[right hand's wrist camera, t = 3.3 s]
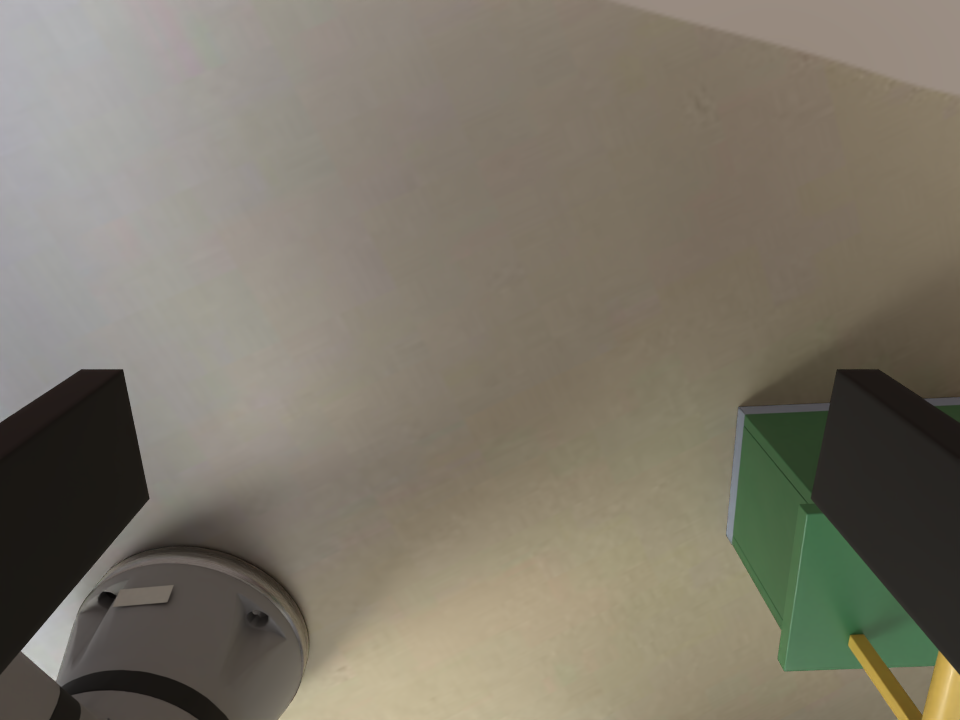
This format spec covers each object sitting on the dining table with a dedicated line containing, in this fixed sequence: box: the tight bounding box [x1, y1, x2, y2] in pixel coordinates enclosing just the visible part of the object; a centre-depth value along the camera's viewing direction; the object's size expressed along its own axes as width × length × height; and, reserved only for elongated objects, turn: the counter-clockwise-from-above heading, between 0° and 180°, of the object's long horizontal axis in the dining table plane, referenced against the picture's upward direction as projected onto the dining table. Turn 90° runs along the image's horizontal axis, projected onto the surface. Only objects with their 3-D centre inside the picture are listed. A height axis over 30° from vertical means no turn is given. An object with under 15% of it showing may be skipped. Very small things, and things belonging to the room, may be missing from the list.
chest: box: [726, 397, 960, 630], centre depth 37 cm, size 14×9×10 cm, turn 93°
